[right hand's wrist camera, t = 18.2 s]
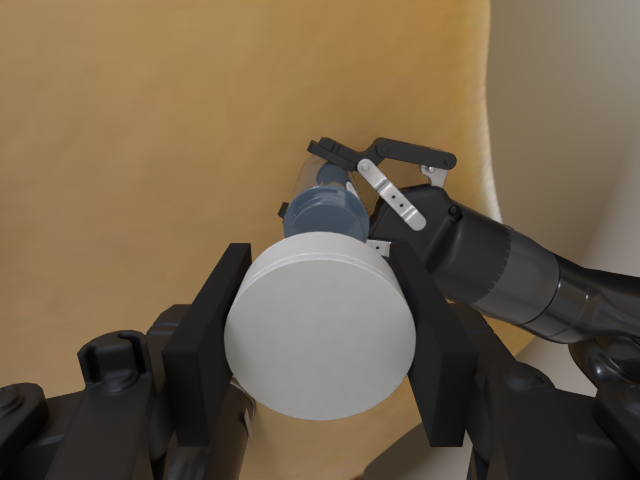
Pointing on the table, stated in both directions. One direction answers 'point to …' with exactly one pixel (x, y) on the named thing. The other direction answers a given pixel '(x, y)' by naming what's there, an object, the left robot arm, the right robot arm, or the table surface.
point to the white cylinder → (320, 328)
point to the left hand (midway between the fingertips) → (295, 178)
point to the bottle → (326, 202)
